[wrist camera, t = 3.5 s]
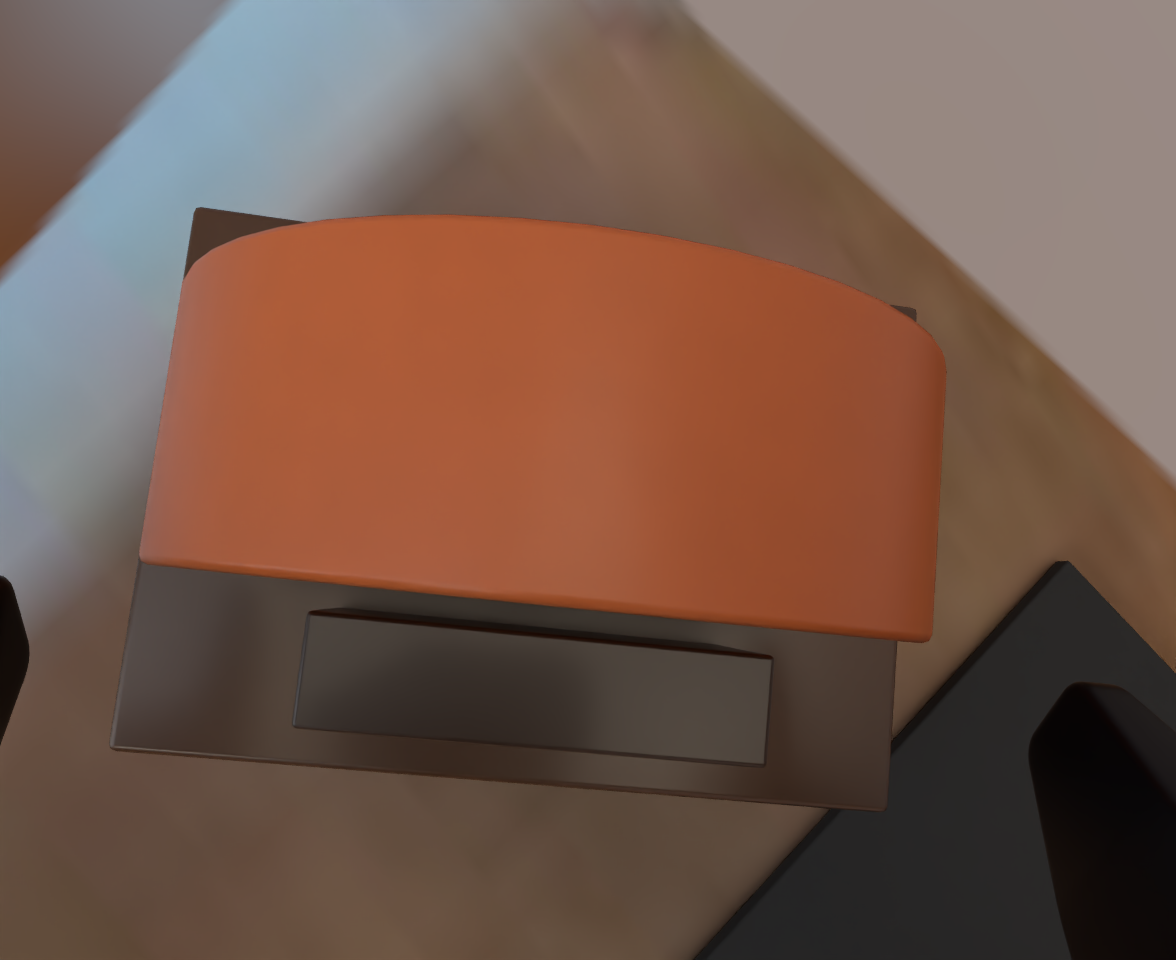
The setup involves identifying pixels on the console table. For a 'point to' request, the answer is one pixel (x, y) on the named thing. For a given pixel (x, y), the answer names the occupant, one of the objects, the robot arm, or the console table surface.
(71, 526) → the console table surface
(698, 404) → the disc
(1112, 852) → the robot arm
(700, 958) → the mat
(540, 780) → the brown notched block
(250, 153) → the console table surface
